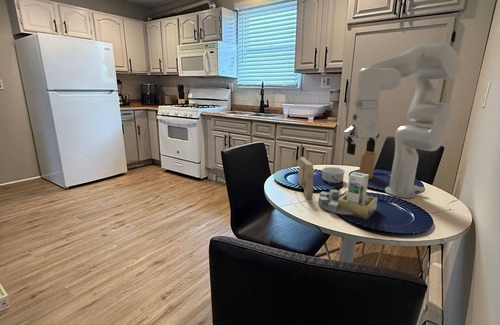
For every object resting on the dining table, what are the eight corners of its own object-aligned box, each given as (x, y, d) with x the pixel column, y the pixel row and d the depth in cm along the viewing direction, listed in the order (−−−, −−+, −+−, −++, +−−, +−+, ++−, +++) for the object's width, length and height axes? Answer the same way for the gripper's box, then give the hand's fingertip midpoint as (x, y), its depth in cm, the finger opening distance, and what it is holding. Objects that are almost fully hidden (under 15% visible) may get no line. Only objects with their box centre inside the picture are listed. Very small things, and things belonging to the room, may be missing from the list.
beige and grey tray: (378, 207, 109) (380, 195, 108) (364, 223, 96) (365, 210, 95) (329, 193, 122) (330, 183, 121) (310, 206, 109) (311, 195, 108)
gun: (313, 200, 115) (315, 166, 112) (305, 200, 115) (307, 166, 112) (303, 185, 139) (304, 156, 136) (297, 185, 139) (298, 156, 136)
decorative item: (372, 175, 148) (378, 140, 142) (371, 179, 142) (376, 142, 137) (360, 173, 151) (364, 139, 146) (358, 177, 146) (362, 141, 140)
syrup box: (344, 209, 104) (349, 174, 100) (350, 204, 109) (354, 170, 105) (359, 213, 101) (364, 177, 97) (364, 208, 105) (369, 173, 101)
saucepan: (322, 189, 128) (323, 178, 127) (320, 176, 147) (321, 166, 146) (347, 191, 126) (348, 180, 125) (342, 177, 145) (343, 167, 143)
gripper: (356, 106, 86) (350, 157, 91) (392, 105, 93) (385, 152, 98) (339, 105, 93) (335, 152, 98) (375, 104, 100) (369, 148, 105)
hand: (360, 152), depth 98 cm, fingers open, 9 cm apart
